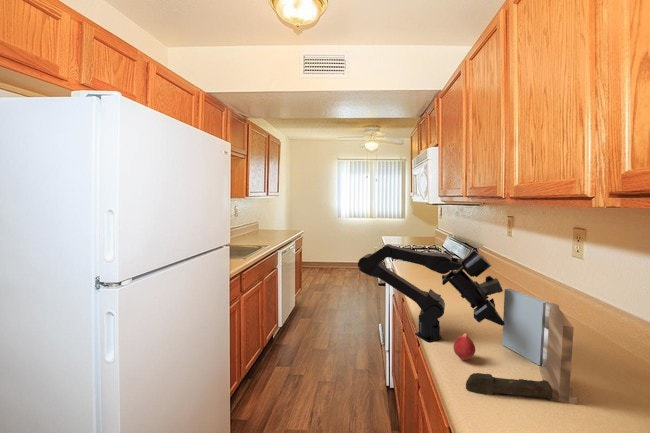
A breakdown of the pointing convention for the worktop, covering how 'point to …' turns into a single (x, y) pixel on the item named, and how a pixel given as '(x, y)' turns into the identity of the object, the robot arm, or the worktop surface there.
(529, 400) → the worktop surface
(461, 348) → the onion
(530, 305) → the hinged leaf
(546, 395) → the hand tool
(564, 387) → the hinge frame
